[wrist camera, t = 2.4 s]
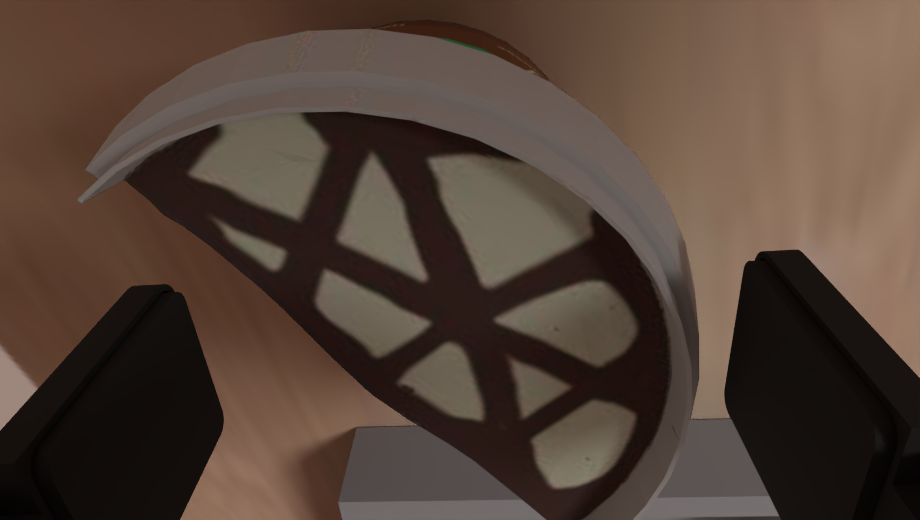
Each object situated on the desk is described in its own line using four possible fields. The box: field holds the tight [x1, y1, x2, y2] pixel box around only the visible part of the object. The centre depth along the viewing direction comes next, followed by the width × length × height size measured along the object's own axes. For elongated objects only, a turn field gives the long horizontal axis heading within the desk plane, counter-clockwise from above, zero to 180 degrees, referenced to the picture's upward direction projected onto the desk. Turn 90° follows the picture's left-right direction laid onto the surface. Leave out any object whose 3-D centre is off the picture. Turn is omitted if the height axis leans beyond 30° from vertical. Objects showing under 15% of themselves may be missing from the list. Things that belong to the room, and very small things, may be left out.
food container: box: [77, 20, 699, 520], centre depth 14 cm, size 12×6×10 cm, turn 42°
